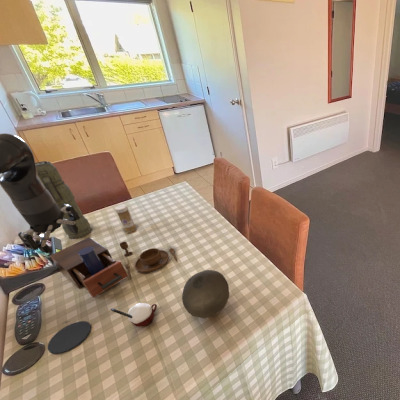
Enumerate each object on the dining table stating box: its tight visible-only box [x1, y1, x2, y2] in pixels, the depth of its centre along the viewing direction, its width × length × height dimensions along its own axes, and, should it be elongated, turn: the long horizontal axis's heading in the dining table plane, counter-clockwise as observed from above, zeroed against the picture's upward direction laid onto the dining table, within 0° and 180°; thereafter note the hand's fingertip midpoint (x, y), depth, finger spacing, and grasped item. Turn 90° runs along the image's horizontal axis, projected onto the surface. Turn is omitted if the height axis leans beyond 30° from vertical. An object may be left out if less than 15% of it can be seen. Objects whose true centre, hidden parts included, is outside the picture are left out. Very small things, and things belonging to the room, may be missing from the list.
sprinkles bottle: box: [114, 204, 137, 234], centre depth 121 cm, size 5×5×13 cm
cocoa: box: [110, 302, 158, 328], centre depth 80 cm, size 10×6×12 cm, turn 128°
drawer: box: [71, 253, 129, 298], centre depth 95 cm, size 18×11×7 cm, turn 59°
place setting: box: [119, 241, 178, 279], centre depth 107 cm, size 18×20×6 cm
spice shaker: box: [78, 247, 105, 276], centre depth 94 cm, size 4×4×13 cm
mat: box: [47, 320, 92, 355], centre depth 79 cm, size 10×10×1 cm
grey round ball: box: [181, 269, 230, 319], centre depth 83 cm, size 14×14×15 cm
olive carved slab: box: [35, 160, 93, 240], centre depth 115 cm, size 9×12×35 cm
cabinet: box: [49, 236, 113, 290], centre depth 101 cm, size 15×13×9 cm
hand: (62, 241), depth 84 cm, fingers open, 8 cm apart
